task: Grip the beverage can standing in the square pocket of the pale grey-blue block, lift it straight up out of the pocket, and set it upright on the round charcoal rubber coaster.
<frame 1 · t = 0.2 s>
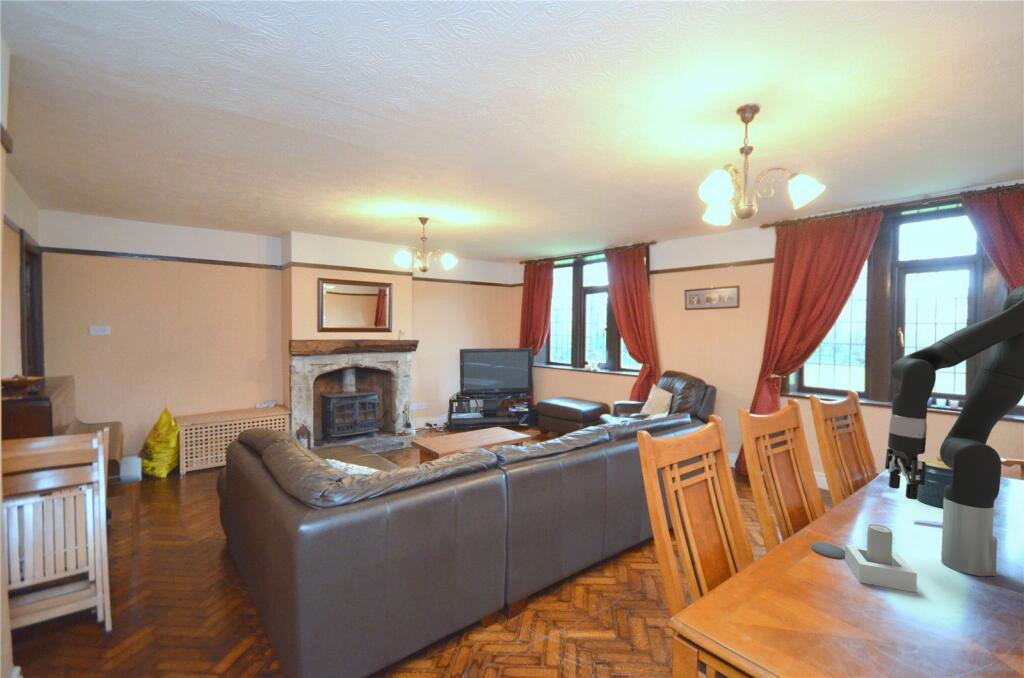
hand: (902, 493, 122), 18 cm above the table, tool pointing down, fingers open, 8 cm apart
coaster: (828, 551, 126), on the table
pocket block: (878, 575, 114), on the table
canister: (939, 503, 164), on the table
beverage can: (878, 576, 114), resting in pocket block
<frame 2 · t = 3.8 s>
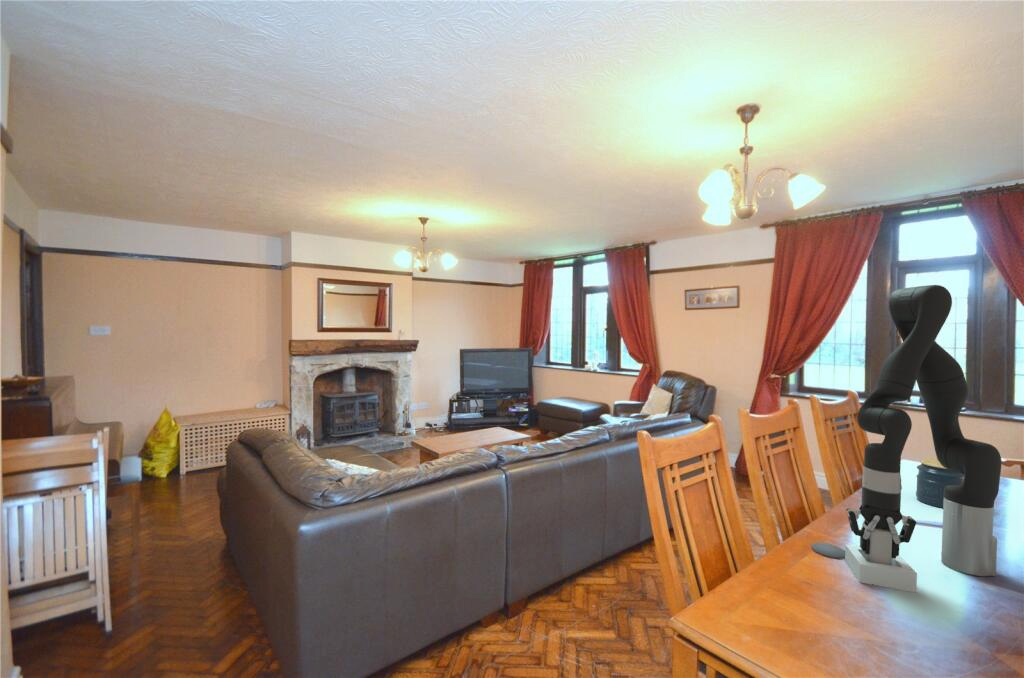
hand: (878, 554, 114), 5 cm above the table, tool pointing down, fingers closed on beverage can, 4 cm apart
beverage can: (878, 576, 114), resting in pocket block, touching gripper
everything else where it was.
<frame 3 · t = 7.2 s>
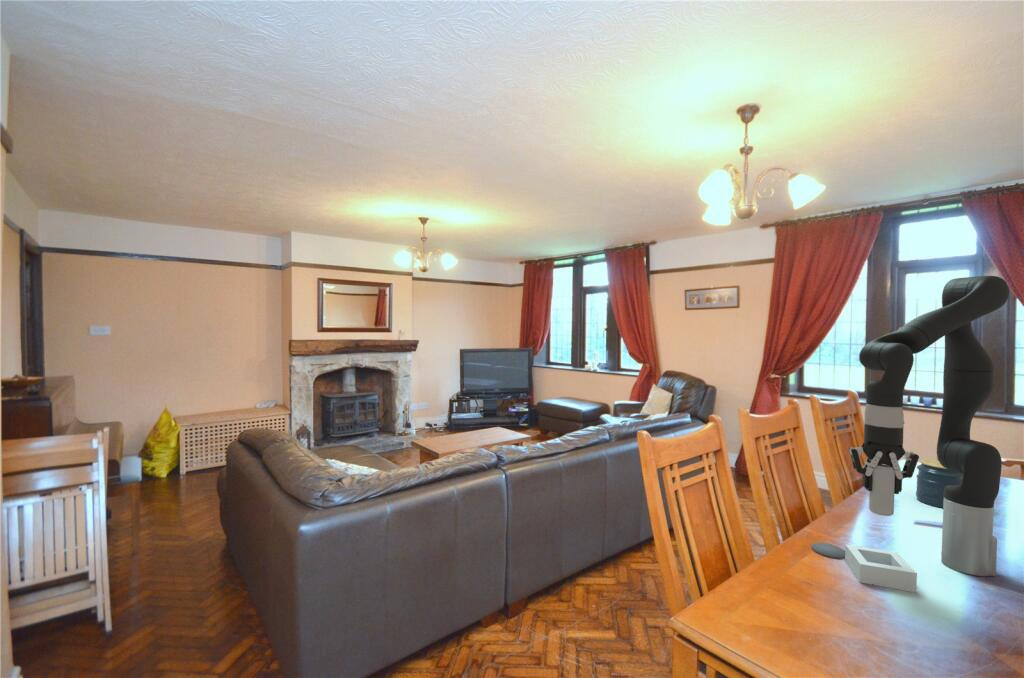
hand: (881, 491, 113), 21 cm above the table, tool pointing down, fingers closed on beverage can, 4 cm apart
beverage can: (881, 513, 113), point 16 cm above the table, touching gripper
everything else where it was.
when the fingers open (7 cm above the table, at t = 10.8 s): beverage can stays where it is, resting on coaster.
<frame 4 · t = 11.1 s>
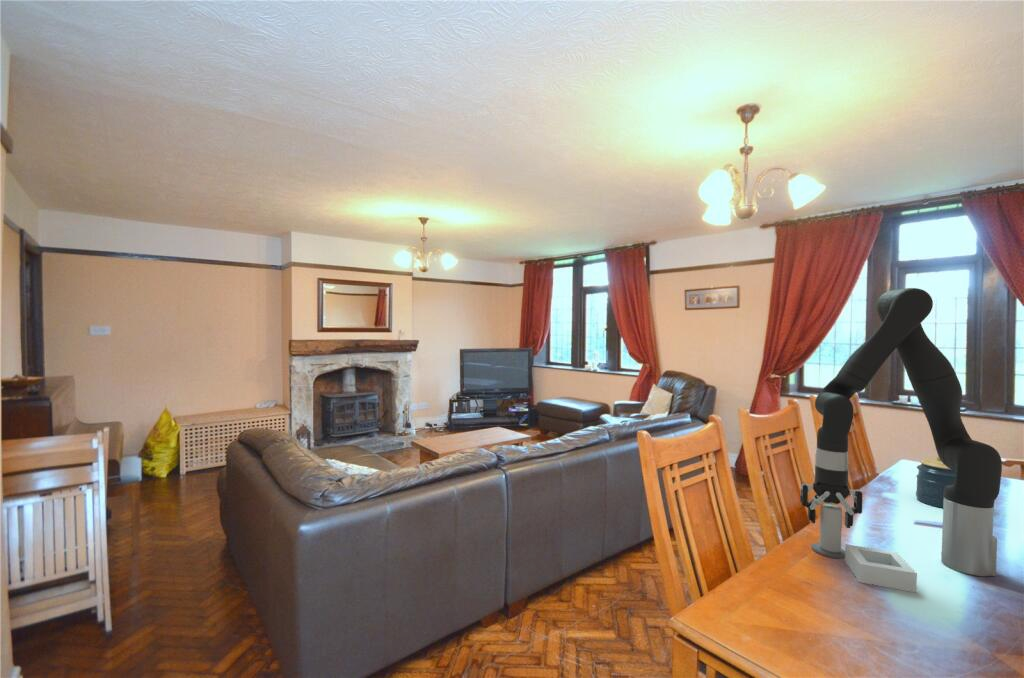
hand: (829, 524, 126), 8 cm above the table, tool pointing down, fingers open, 7 cm apart
beverage can: (830, 550, 126), resting on coaster
everything else where it was.
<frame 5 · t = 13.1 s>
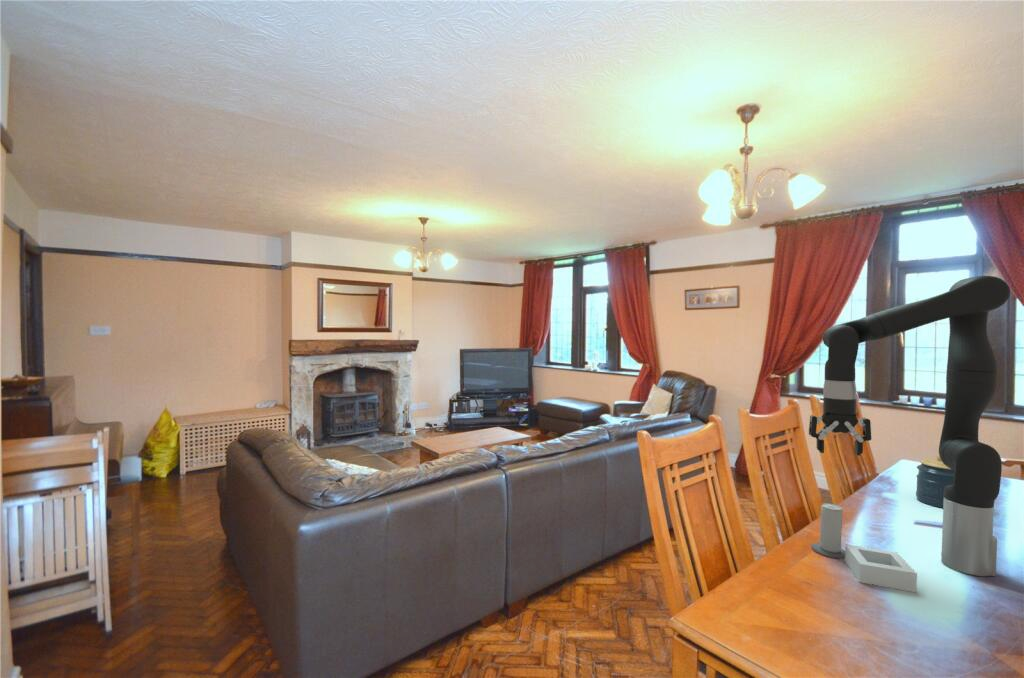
hand: (839, 453, 129), 26 cm above the table, tool pointing down, fingers open, 8 cm apart
nothing on the table moved.
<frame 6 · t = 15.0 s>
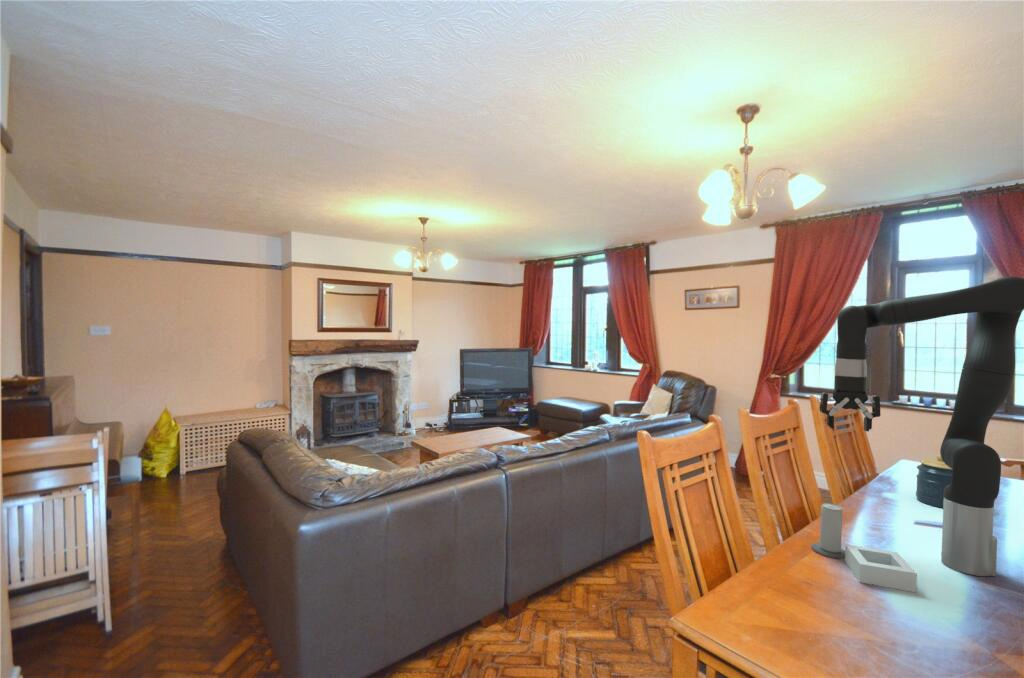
hand: (848, 429, 134), 32 cm above the table, tool pointing down, fingers open, 8 cm apart
nothing on the table moved.
at the end: beverage can 0.3 cm off-centre on the coaster, point 0.4 cm above the coaster's base; beverage can tilted 0°; the gripper is holding nothing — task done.
